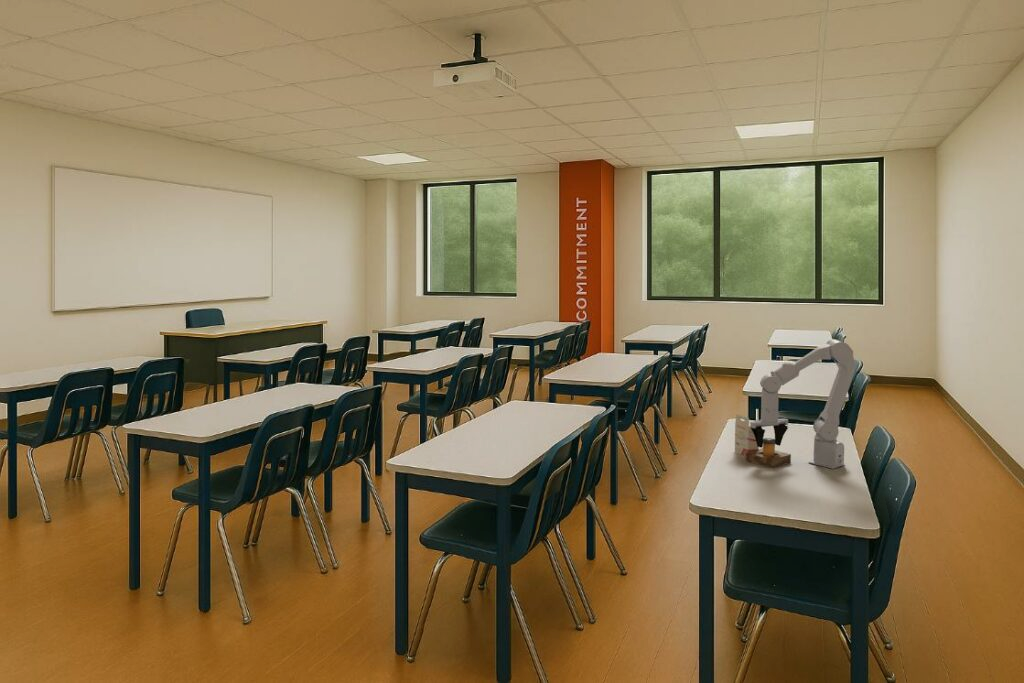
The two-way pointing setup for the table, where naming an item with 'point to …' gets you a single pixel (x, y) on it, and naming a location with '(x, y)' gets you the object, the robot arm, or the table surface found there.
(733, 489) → the table surface
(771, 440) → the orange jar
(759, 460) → the socket block
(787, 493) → the table surface
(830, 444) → the robot arm
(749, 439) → the ink cartridge box
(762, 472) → the table surface
